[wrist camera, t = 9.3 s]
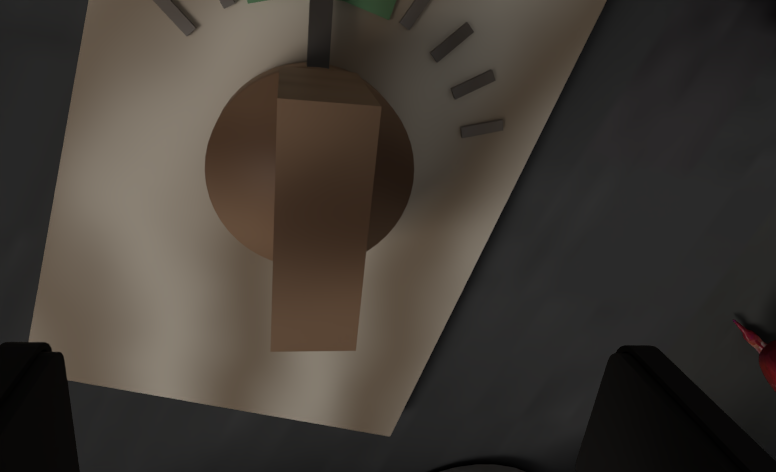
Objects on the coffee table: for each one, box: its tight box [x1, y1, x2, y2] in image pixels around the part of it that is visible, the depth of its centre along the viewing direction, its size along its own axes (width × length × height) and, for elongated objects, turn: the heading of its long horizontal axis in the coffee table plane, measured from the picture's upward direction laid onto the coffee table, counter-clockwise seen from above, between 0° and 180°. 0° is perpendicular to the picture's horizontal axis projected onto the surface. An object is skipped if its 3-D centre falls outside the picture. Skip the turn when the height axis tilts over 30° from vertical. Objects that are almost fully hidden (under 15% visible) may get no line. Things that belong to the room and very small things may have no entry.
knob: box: [205, 0, 414, 352], centre depth 16 cm, size 10×7×6 cm, turn 174°
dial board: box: [29, 0, 607, 436], centre depth 21 cm, size 16×24×2 cm, turn 158°
